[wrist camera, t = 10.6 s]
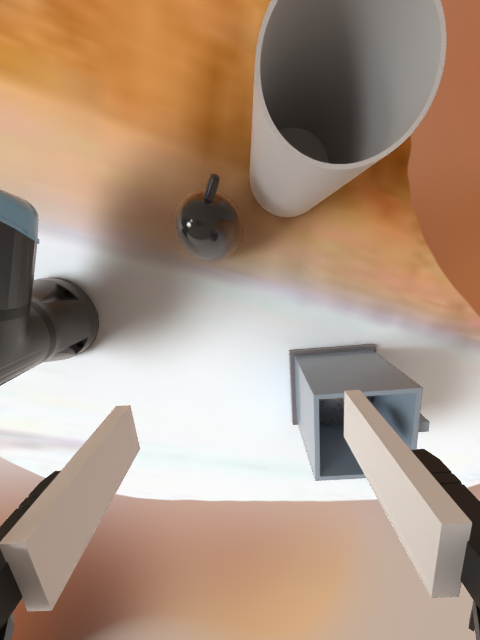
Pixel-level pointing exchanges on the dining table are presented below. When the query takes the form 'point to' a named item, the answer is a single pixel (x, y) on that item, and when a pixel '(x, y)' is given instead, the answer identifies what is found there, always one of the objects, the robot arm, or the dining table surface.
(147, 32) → the dining table surface
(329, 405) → the plunger
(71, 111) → the dining table surface
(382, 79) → the cylinder vase
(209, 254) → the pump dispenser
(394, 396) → the grey open bin
